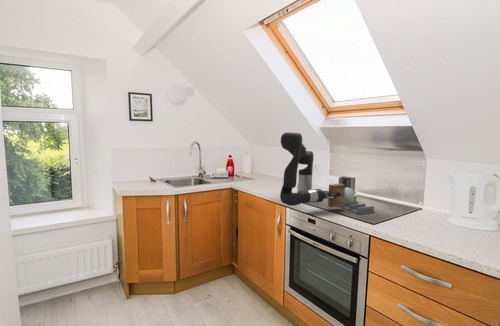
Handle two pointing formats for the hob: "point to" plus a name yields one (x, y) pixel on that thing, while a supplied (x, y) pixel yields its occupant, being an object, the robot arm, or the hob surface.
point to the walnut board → (339, 200)
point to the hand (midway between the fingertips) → (337, 193)
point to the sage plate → (348, 195)
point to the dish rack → (357, 208)
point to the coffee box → (348, 182)
